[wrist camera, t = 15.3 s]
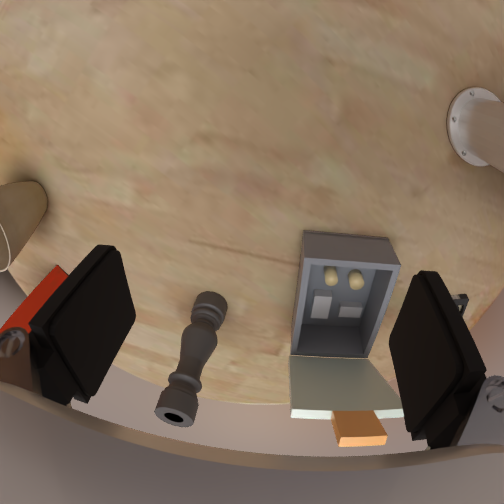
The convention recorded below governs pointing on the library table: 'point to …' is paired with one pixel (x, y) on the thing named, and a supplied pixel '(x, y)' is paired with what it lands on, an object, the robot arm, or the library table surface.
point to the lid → (343, 397)
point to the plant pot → (19, 217)
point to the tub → (341, 293)
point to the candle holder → (192, 361)
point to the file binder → (35, 300)
